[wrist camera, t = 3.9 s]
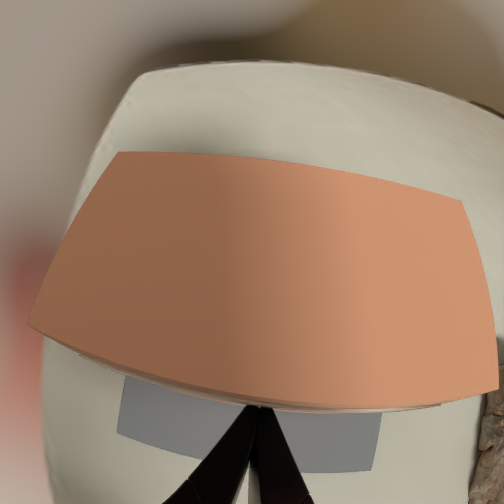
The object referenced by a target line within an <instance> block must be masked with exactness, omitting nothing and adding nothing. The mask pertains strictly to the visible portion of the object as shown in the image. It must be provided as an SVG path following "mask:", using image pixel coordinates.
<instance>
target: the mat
mask: <svg viewBox="0 0 504 504" xmlns="http://www.w3.org/2000/svg"><path fill="white" fill-rule="evenodd" d="M244 407H245V406H243V405H237V404H231V403H226V402H220V401H215V400H210V399H206V398H201V397H197V396H192V395H188V394H184V393H180V392H176V391H172V390H169V389H166V388H163V387H160V386H157V385H154V384H151V383H148V382H146V381H143V380H140V379H136V378H133V377H130V376H127V375H126V380H125V385H124V390H123V396H122V401H121V407H120V413H119V420H118V427H117V433H118V434H121V435H123V436H126V437H129V438H131V439H134V440H137V441H139V442H142V443H145V444H148V445H151V446H154V447H157V448H160V449H164V450H167V451H170V452H174V453H178V454H181V455H185V456H189V457H193V458H197V459H201V460H204V458H205V457H206V456H207V455H208V454H209V452H210V451H211V450H212V449H213V447H214V446H215V445H216V444H217V442H218V441H219V440H220V439H221V437H222V436H223V435H224V433H225V432H226V431H227V430H228V428H229V427H230V426H231V424H232V423H233V422H234V420H235V419H236V418H237V416H238V415H239V414H240V412H241V411H242V410H243V408H244ZM274 412H275V414H276V417H277V419H278V422H279V424H280V426H281V429H282V431H283V434H284V436H285V438H286V441H287V443H288V446H289V448H290V450H291V453H292V455H293V457H294V460H295V462H296V464H297V466H298V469H299V471H300V473H342V472H359V471H371V468H372V464H373V460H374V455H375V450H376V445H377V440H378V434H379V428H380V422H381V416H382V412H380V413H357V414H318V413H302V412H290V411H280V410H274ZM249 463H250V461H249ZM248 468H249V465H248Z"/></svg>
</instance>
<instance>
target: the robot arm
mask: <svg viewBox="0 0 504 504" xmlns="http://www.w3.org/2000/svg"><path fill="white" fill-rule="evenodd" d="M249 461H250V463H249ZM248 465H249V488H248V504H314V502H313V500H312V497H311V496H310V495H309V491H308V489H307V487H306V485H305V482H304V480H303V478H302V476H301V473H300V471H299V469H298V466H297V464H296V462H295V460H294V457H293V455H292V453H291V450H290V448H289V446H288V443H287V441H286V438H285V436H284V434H283V431H282V429H281V426H280V424H279V422H278V419H277V417H276V414H275V412H274V410H273V408H269V407H260V408H259V407H258V406H254V405H246V406H245V407H244V408H243V410H242V411H241V412H240V414H239V415H238V416H237V418H236V419H235V420H234V422H233V423H232V424H231V426H230V427H229V428H228V430H227V431H226V432H225V433H224V435H223V436H222V437H221V439H220V440H219V441H218V442H217V444H216V445H215V446H214V447H213V449H212V450H211V451H210V452H209V454H208V455H207V456H206V457H205V458H204V460H203V461H202V462H201V463H200V464H199V466H198V467H197V468H196V469H195V470H194V471H193V473H192V474H191V475H190V476H189V477H188V480H185V482H184V483H183V484H182V485H181V486H180V487H179V488H178V489H177V490H176V491H175V492H174V493H173V494H172V495H171V496H170V497H169V498H168V499H167V500H166V501H165V502H163V503H162V504H235V503H236V500H237V497H238V495H239V492H240V489H241V486H242V483H243V481H244V478H245V475H246V472H247V469H248Z"/></svg>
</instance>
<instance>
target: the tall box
mask: <svg viewBox="0 0 504 504" xmlns="http://www.w3.org/2000/svg"><path fill="white" fill-rule="evenodd" d="M27 325H28V326H30V327H32V328H33V329H35V330H37V331H38V332H40V333H42V334H43V335H45V336H47V337H49V338H51V339H52V340H54V341H56V342H58V343H60V344H62V345H64V346H65V347H67V348H69V349H71V350H73V351H75V352H77V353H79V356H81V357H83V358H86V359H88V360H90V361H92V362H94V363H97V364H99V365H101V366H104V367H106V368H108V369H111V370H113V371H116V372H119V373H121V374H124V375H127V376H130V377H133V378H136V379H140V380H143V381H146V382H148V383H151V384H154V385H157V386H160V387H163V388H166V389H169V390H172V391H176V392H180V393H184V394H188V395H192V396H197V397H201V398H206V399H210V400H215V401H220V402H226V403H231V404H237V405H243V406H246V405H254V406H258V407H259V408H260V407H269V408H273V410H280V411H290V412H302V413H318V414H357V413H380V412H398V411H408V410H415V409H422V408H429V407H435V406H441V404H442V403H447V402H452V401H456V400H461V399H465V398H469V397H473V396H477V395H481V394H484V393H488V392H491V391H494V390H498V389H499V370H498V353H497V342H496V333H495V325H494V318H493V312H492V306H491V301H490V296H489V291H488V286H487V282H486V277H485V273H484V269H483V265H482V262H481V258H480V254H479V251H478V248H477V244H476V241H475V238H474V235H473V232H472V229H471V226H470V223H469V220H468V218H467V215H466V212H465V210H464V207H463V204H462V202H461V201H459V200H456V199H453V198H450V197H447V196H443V195H440V194H436V193H433V192H429V191H426V190H422V189H419V188H415V187H411V186H407V185H403V184H399V183H395V182H391V181H387V180H382V179H378V178H373V177H369V176H364V175H359V174H354V173H349V172H344V171H339V170H333V169H328V168H322V167H316V166H310V165H303V164H296V163H289V162H282V161H274V160H266V159H257V158H248V157H238V156H227V155H214V154H199V153H178V152H118V153H117V154H116V156H115V157H114V158H113V160H112V161H111V163H110V164H109V165H108V167H107V168H106V170H105V171H104V173H103V174H102V175H101V177H100V178H99V180H98V181H97V183H96V184H95V186H94V188H93V189H92V191H91V192H90V194H89V195H88V197H87V199H86V200H85V202H84V204H83V205H82V207H81V208H80V210H79V212H78V214H77V215H76V217H75V219H74V221H73V222H72V224H71V226H70V228H69V230H68V231H67V233H66V235H65V237H64V239H63V241H62V243H61V245H60V247H59V249H58V251H57V253H56V255H55V257H54V259H53V261H52V263H51V265H50V268H49V270H48V272H47V274H46V276H45V278H44V281H43V283H42V285H41V288H40V290H39V293H38V295H37V298H36V300H35V303H34V305H33V308H32V311H31V314H30V316H29V319H28V322H27Z"/></svg>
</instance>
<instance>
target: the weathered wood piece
mask: <svg viewBox="0 0 504 504" xmlns="http://www.w3.org/2000/svg"><path fill="white" fill-rule="evenodd" d="M498 370H499V389H498V390H494V391H491V392H488V395H487V400H488V401H487V405H486V408H485V416H484V417H483V418H482V427H481V433H480V438H479V446H478V449H480V450H481V451H482V450H483V451H482V453H481V455H480V458H479V461H478V464H477V468H476V471H475V475H474V479H473V482H472V485H471V487H470V489H469V494H468V495H469V502H468V504H504V365H500V366H498Z"/></svg>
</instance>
